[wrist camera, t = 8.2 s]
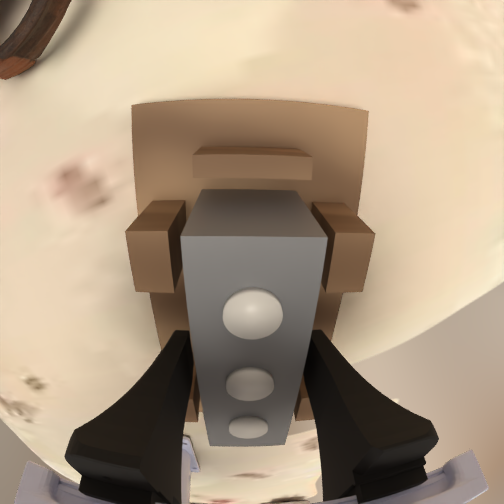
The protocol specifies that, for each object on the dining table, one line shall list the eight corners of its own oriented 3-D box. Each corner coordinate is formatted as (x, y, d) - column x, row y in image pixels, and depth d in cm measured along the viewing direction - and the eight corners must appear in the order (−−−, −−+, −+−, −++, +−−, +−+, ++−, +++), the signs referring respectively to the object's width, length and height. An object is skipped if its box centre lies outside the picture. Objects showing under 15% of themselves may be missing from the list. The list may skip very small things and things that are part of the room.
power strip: (276, 378, 18) (285, 449, 13) (213, 378, 18) (209, 450, 13) (295, 190, 12) (330, 242, 8) (201, 189, 12) (178, 240, 8)
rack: (308, 399, 21) (318, 447, 17) (179, 400, 20) (172, 449, 16) (359, 110, 12) (410, 113, 8) (139, 105, 11) (94, 104, 7)
